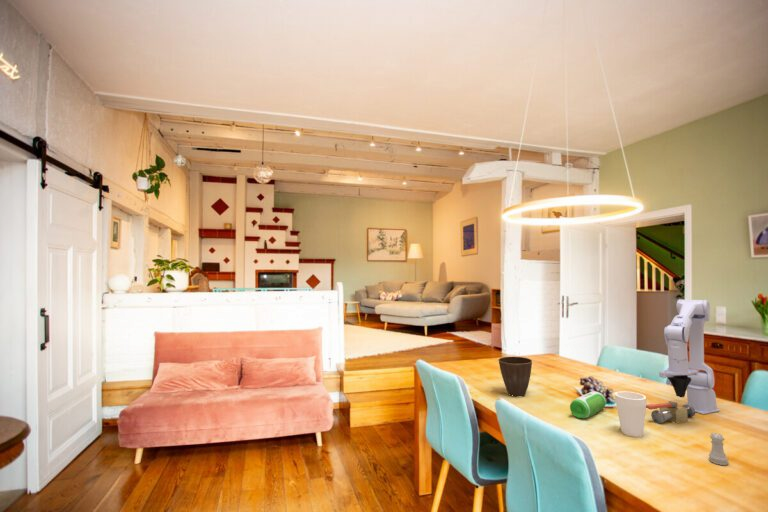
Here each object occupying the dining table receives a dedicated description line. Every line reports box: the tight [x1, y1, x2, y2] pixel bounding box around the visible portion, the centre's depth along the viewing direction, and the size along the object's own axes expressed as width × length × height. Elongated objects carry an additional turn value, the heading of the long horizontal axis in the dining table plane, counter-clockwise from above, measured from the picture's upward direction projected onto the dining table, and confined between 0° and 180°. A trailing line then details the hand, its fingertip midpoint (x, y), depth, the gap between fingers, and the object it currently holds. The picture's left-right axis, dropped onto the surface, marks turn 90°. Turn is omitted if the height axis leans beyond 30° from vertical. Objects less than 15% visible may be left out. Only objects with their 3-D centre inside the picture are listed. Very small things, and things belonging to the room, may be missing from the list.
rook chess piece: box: [708, 432, 729, 466], centre depth 113 cm, size 4×4×8 cm
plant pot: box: [498, 356, 533, 397], centre depth 180 cm, size 15×15×16 cm
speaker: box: [569, 390, 607, 419], centre depth 153 cm, size 18×7×8 cm, turn 128°
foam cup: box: [614, 390, 648, 438], centre depth 134 cm, size 10×9×13 cm
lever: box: [646, 401, 679, 410], centre depth 144 cm, size 12×3×1 cm, turn 101°
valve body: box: [650, 403, 696, 424], centre depth 145 cm, size 17×6×5 cm, turn 109°
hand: (680, 396), depth 140 cm, fingers closed
